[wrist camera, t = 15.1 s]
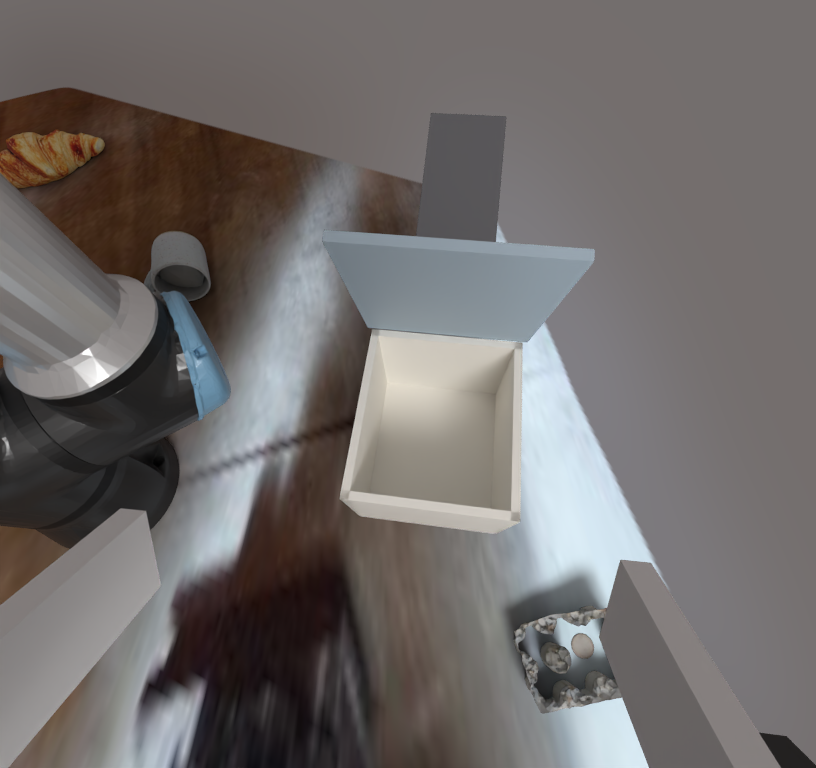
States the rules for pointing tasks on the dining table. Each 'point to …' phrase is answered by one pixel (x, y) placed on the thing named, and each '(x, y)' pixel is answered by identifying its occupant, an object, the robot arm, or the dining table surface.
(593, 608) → the grey piece
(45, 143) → the croissant
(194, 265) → the ceramic mug
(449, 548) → the dining table surface
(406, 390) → the storage box
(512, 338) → the lid
